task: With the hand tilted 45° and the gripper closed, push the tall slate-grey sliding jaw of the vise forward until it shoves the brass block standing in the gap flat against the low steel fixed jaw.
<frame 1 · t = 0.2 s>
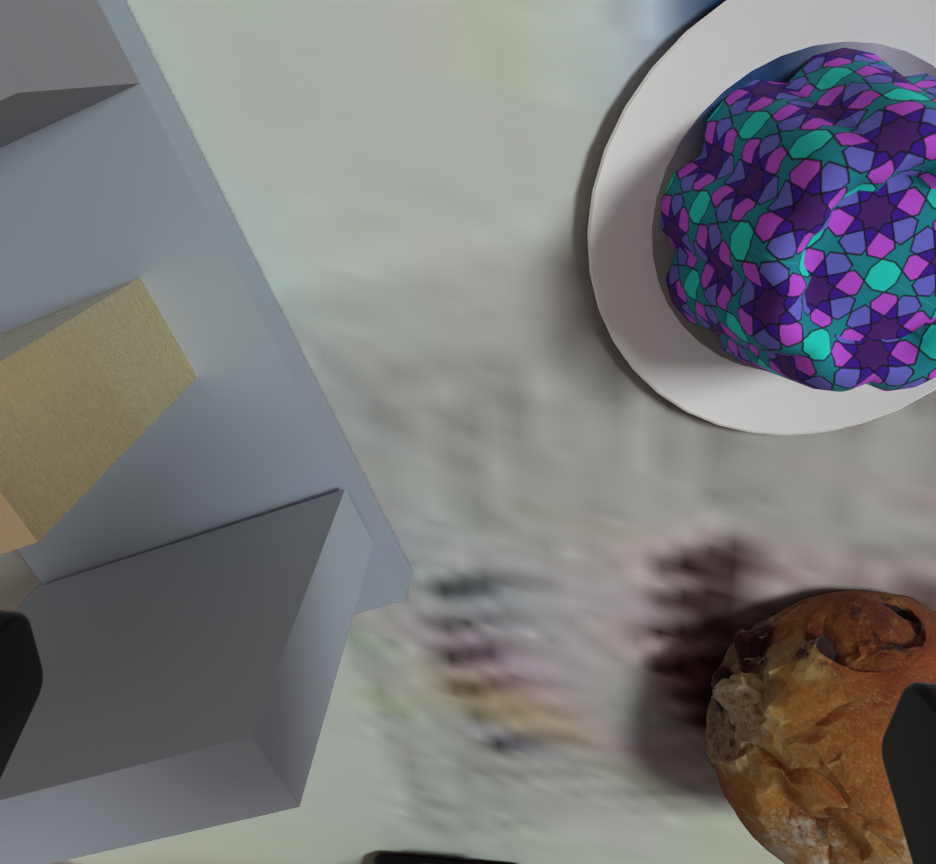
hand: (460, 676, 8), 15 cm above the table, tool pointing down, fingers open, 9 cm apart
bread roll: (830, 685, 27), on the table
brass block: (77, 364, 21), point 1 cm above the table, touching vise
vise: (93, 330, 22), on the table
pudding: (809, 219, 21), on the table
sliding jaw: (135, 670, 20), point 6 cm above the table, slide at 0.0 cm
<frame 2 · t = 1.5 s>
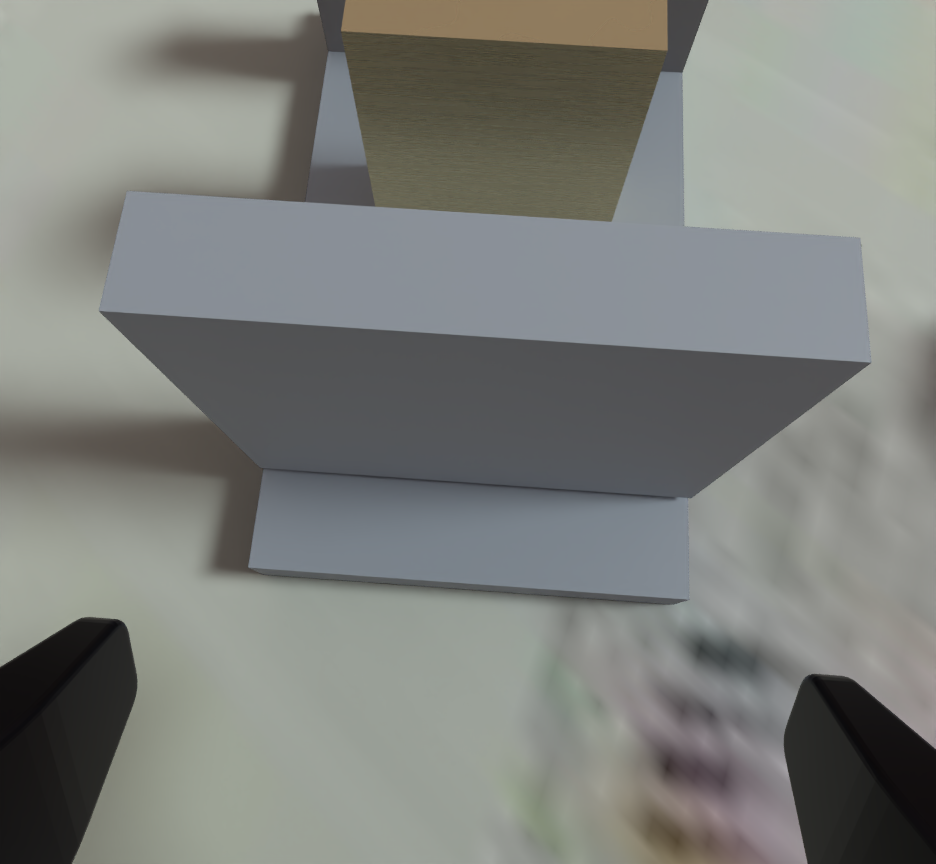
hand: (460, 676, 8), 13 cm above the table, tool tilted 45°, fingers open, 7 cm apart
brass block: (493, 216, 22), point 1 cm above the table, touching vise
vise: (492, 229, 24), on the table
sliding jaw: (480, 383, 15), point 6 cm above the table, slide at 0.0 cm
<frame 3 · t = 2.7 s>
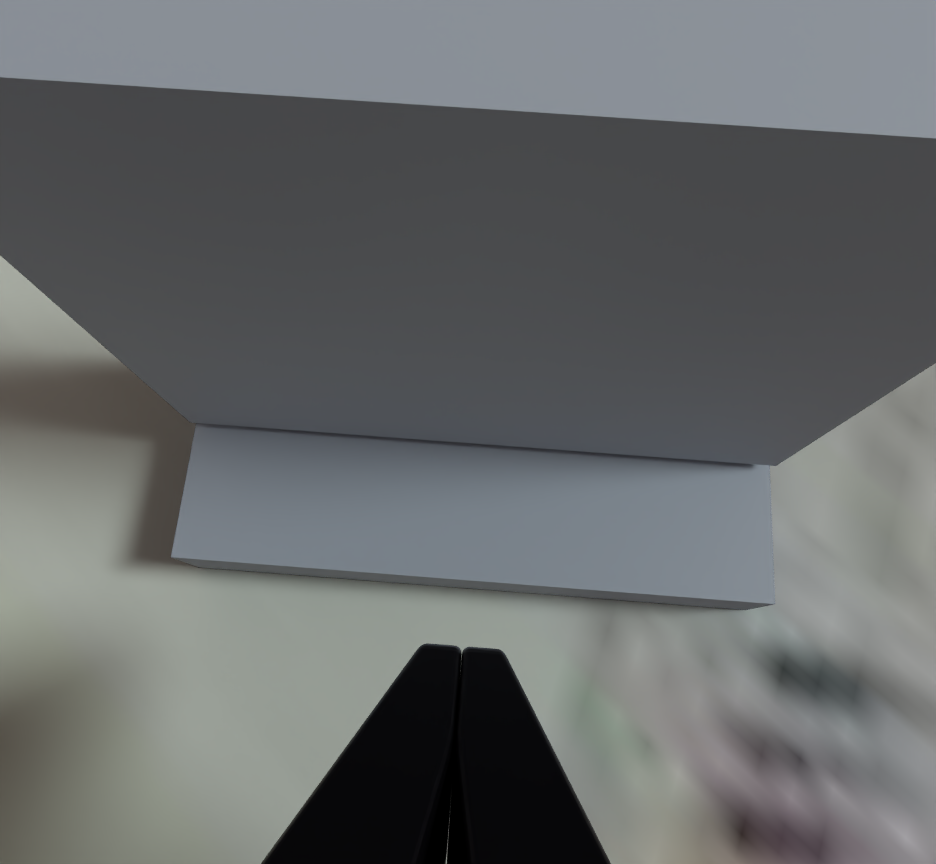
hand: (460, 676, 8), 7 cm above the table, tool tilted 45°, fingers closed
vise: (504, 128, 19), on the table
sliding jaw: (492, 280, 10), point 6 cm above the table, slide at 0.0 cm
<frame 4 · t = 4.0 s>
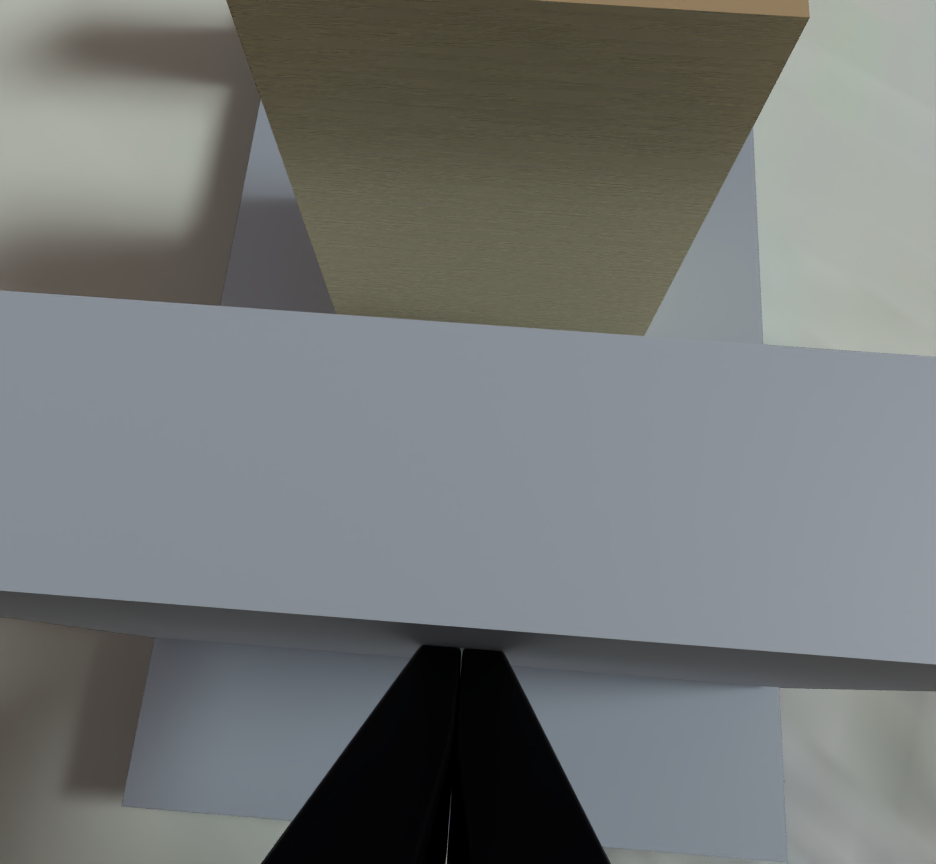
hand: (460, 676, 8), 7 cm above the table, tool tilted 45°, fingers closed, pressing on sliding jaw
brass block: (493, 270, 16), point 1 cm above the table, touching vise
vise: (492, 285, 17), on the table
sliding jaw: (470, 566, 9), point 6 cm above the table, slide at 0.2 cm, touching gripper
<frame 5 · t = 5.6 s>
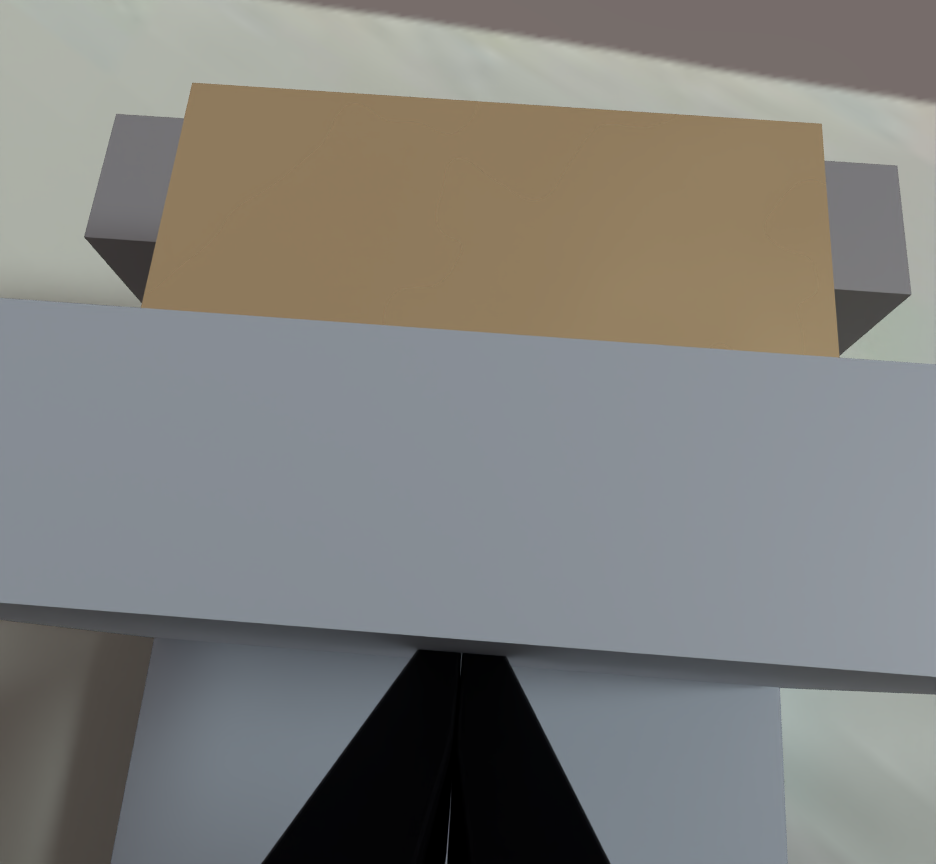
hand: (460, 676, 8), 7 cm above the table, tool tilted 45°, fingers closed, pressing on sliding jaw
brass block: (478, 470, 14), point 2 cm above the table, touching sliding jaw, vise
vise: (464, 664, 15), on the table
sliding jaw: (470, 569, 9), point 6 cm above the table, slide at 8.5 cm, touching brass block, gripper
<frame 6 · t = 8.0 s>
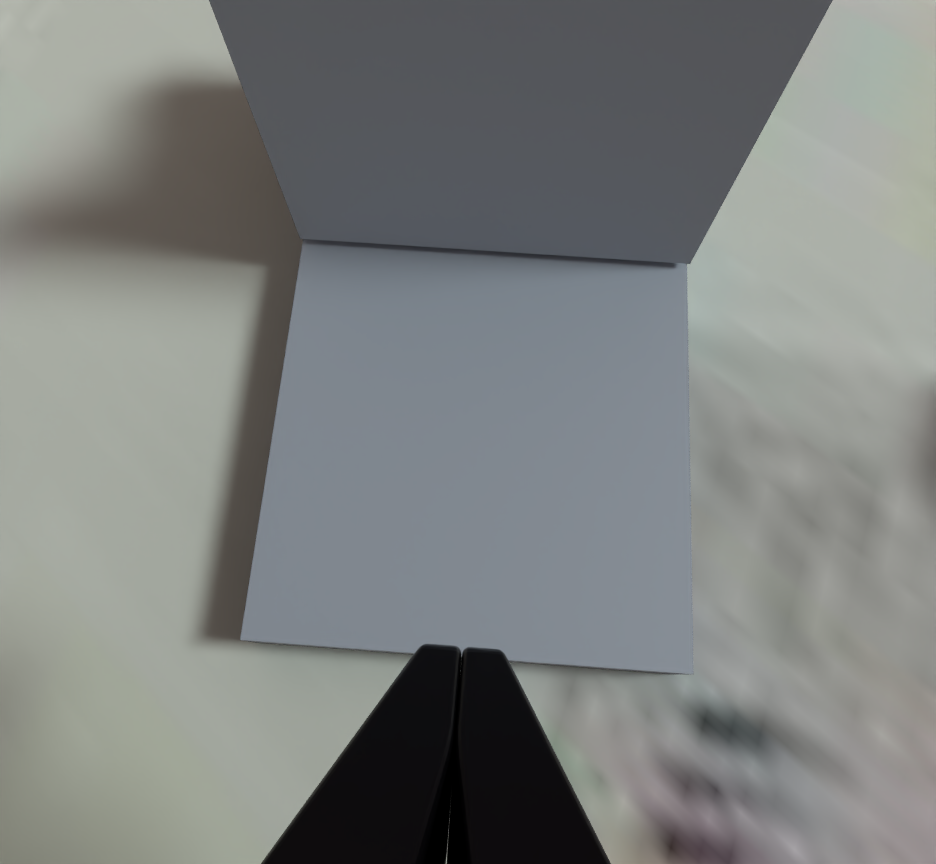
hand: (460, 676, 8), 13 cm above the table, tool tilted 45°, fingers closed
vise: (492, 282, 23), on the table
sliding jaw: (503, 109, 18), point 6 cm above the table, slide at 8.5 cm
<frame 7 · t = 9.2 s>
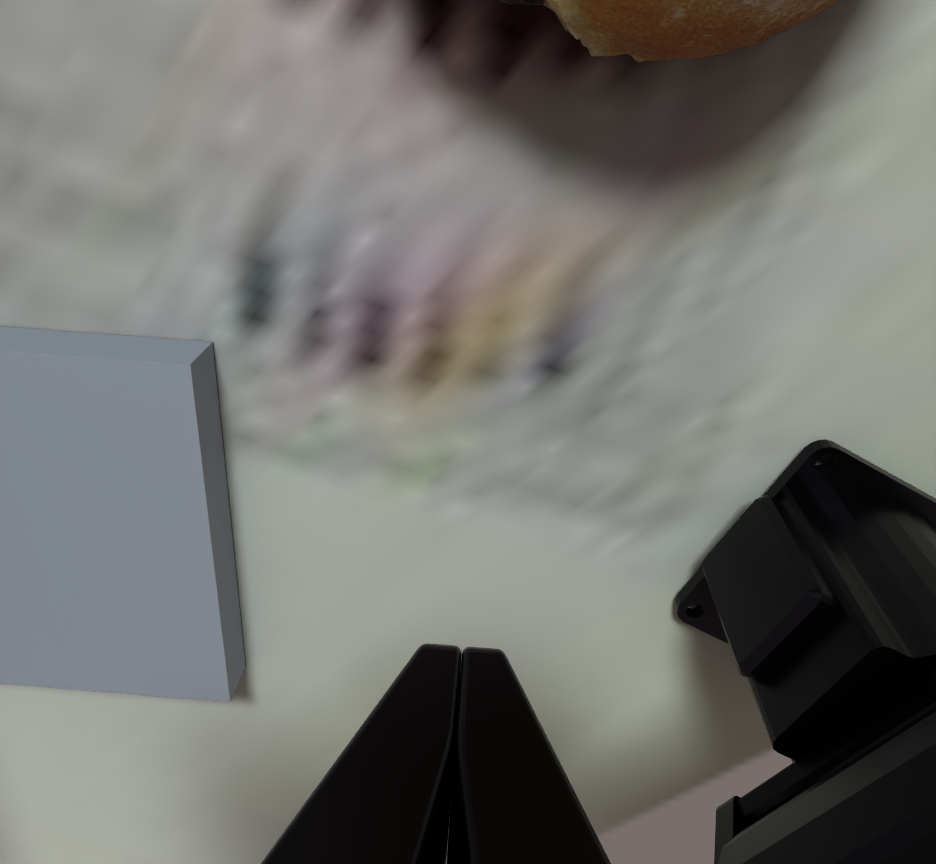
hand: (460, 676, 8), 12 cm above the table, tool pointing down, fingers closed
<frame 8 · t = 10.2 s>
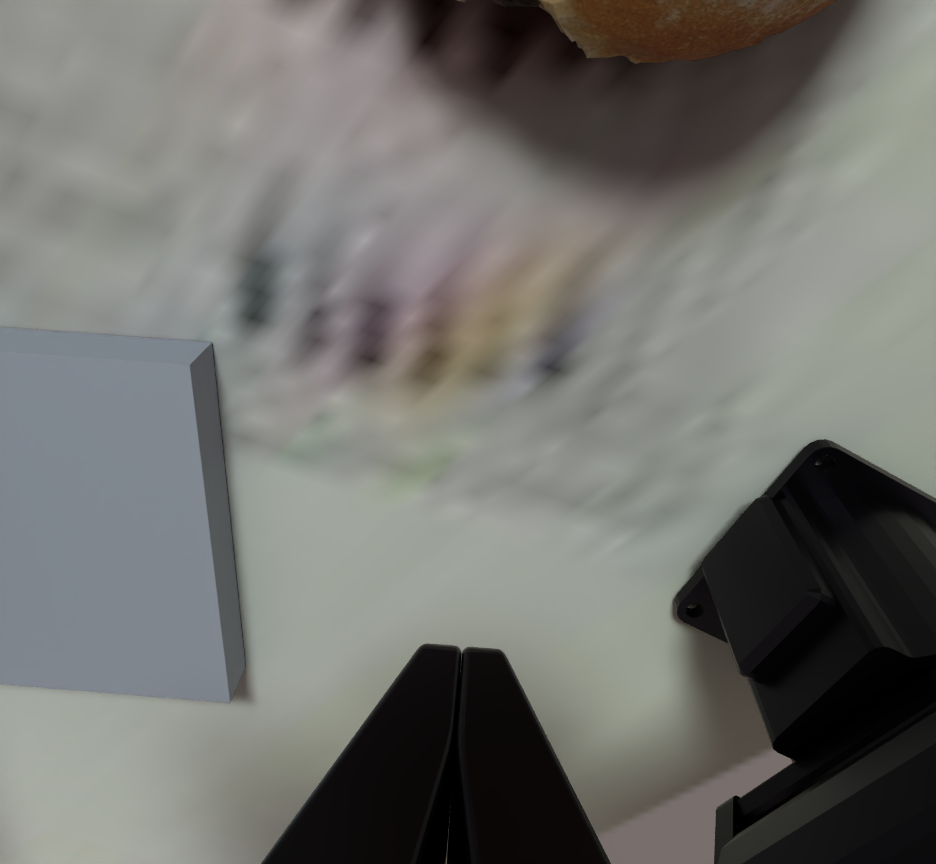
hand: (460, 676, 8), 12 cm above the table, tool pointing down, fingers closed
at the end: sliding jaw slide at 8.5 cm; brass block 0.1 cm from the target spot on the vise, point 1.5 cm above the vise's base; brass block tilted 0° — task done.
